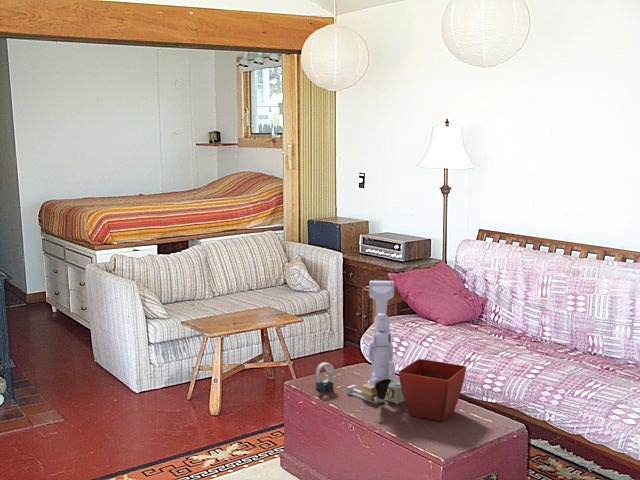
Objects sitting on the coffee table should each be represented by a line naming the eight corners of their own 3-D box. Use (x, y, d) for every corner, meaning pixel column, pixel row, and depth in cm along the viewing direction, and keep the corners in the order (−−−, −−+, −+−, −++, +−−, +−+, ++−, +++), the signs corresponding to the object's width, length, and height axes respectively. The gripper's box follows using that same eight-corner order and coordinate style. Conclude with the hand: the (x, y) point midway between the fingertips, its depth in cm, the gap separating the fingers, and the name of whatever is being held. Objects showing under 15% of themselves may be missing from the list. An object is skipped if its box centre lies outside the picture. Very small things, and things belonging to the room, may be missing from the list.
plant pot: (418, 400, 281) (418, 357, 278) (466, 409, 271) (467, 365, 269) (396, 416, 265) (397, 371, 262) (447, 427, 255) (448, 380, 252)
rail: (354, 391, 291) (354, 384, 290) (383, 401, 279) (383, 394, 279) (347, 393, 288) (347, 386, 287) (376, 404, 277) (376, 397, 276)
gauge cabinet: (395, 395, 286) (395, 380, 285) (407, 399, 281) (407, 383, 280) (385, 399, 282) (385, 383, 281) (396, 403, 277) (397, 387, 276)
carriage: (369, 393, 285) (369, 382, 284) (379, 396, 281) (379, 385, 280) (361, 396, 282) (361, 385, 281) (371, 399, 278) (371, 388, 277)
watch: (337, 389, 293) (337, 362, 292) (321, 393, 288) (321, 366, 286) (327, 385, 297) (327, 359, 296) (312, 390, 292) (312, 363, 291)
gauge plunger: (397, 392, 284) (397, 384, 283) (403, 394, 282) (403, 386, 281) (385, 396, 279) (385, 389, 279) (391, 398, 277) (391, 391, 277)
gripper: (381, 356, 281) (381, 390, 283) (362, 366, 270) (362, 402, 271) (398, 359, 278) (397, 394, 279) (379, 370, 266) (379, 405, 268)
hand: (381, 398), depth 275 cm, fingers closed
